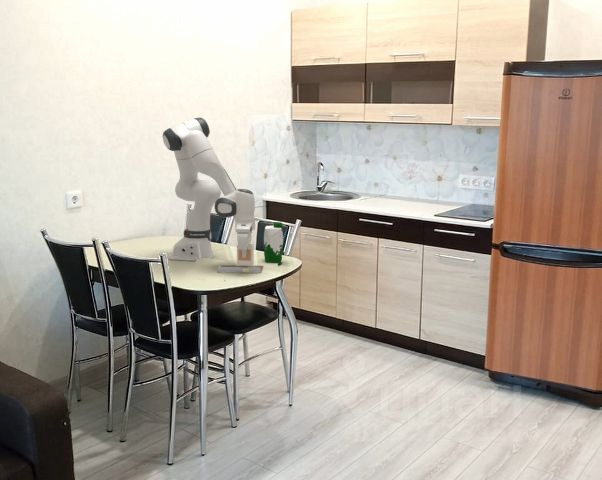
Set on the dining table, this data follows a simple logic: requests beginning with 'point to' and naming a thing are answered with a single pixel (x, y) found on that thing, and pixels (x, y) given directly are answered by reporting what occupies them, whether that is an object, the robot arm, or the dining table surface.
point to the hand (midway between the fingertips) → (245, 255)
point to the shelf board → (242, 266)
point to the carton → (249, 258)
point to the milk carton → (273, 243)
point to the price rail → (238, 269)
